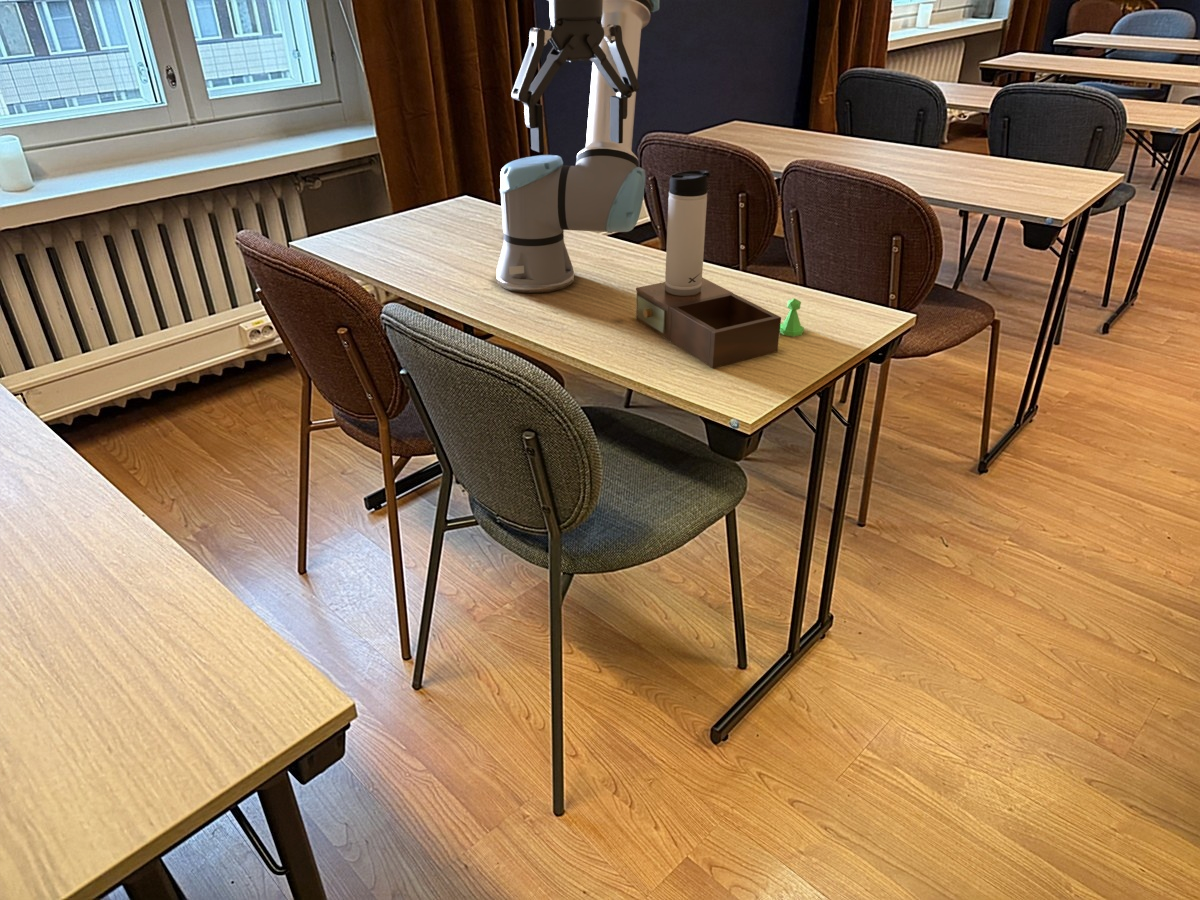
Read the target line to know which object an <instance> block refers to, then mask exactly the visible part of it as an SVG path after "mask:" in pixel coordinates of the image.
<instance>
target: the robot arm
mask: <svg viewBox="0 0 1200 900" xmlns="http://www.w3.org/2000/svg"><path fill="white" fill-rule="evenodd" d="M546 1H548V4H549V5H548V6H549V20H550V26H549V28H548V29H543V28H539V27H531V28H530V30H529V36H528V37H529V39H528V46H527V49H526V52H525V54H524V57H523V60H522V63H521V66H520V69H519V71H518V74H517V77H516V79H515V82H514V85H513V87H512V90H511V94H510V95H511V99H513V100H516V101H519V102H521V103H522V104H523V106H524V124H525V127H526V128H529V129H530V145H531V146H530V149H531V151H534V152H537V153H539V155H532V156H526V157H521V158H518V159H515V160H512V161H509V162H508V163H506V164H505V165H504V166H503V167H502V168H501V169H500V170H501V171H500V188H499V194H500V204H501V205H500V206H501V219H502V234H503V235H502V236H503V244H502V247H501V252H500V256H499V259H498V262H497V267H496V273H495V276H496V283H497V284H498V286H499V287H501V288H503V289H505V290H508V291H511V292H517V293H524V294H525V293H526V294H540V293H541V294H543V293H550V292H554V291H555V292H556V291H559V290H563V289H566V288H567V287H569V286H570V285H572V284H573V283H574V281H575V280H574V279H575V272H574V266H573V263H572V261H571V258H570V255H569V252H568V249H567V246H566V243H565V239H564V238H565V234H564V233H565V232H564V231H577V232H597V233H598V232H599V233H607V234H612V233H628V232H630V231H632V230H634V228H635V227H636V226H637V223H638V221H639V218H640V215H641V211H642V207H643V203H644V196H645V188H646V187H645V186H646V170H645V169H644V168H642V167H640V166H639V163H640V161H639V157H637V155H636V154H635V153H634V152H633V151H632V148H633V138H634V137H633V136H634V123H635V111H636V98H637V92H639V91H640V84H639V81H638V74H639V61H640V49H641V38H642V37H641V36H642V30H643V29H644V28H645V27H646V26H647V25H649V23H650V21H651V13H655V12H657V11H659V10H660V0H546ZM548 41H549V42H550V43H551V45H552V48H551V49H550V50H549V52H548V54H547V56H546V60H545V61H544V63H543V64H542V66H541V67H540V69H539V71H538V72H537V74H536V71H537V68H538V66H539V64H540V61H541V59H542V55H543V53H544V48H545V46H546V45H547V44H548ZM577 61H583V62H590V61H591V62H592V65H591V78H590V90H589V91H590V93H589V101H588V103H589V104H588V115H587V116H588V117H587V128H586V141H585V147H583V148H582V149H581V150H580V151H579V152H578V153H577V154H576V161H575V165H564V161H563V158H562V156H560V155H555V154H540V153H544V152H545V146H544V145H545V143H544V115H543V113H544V112H543V104H540V103H538V102H539V100H540V99H541V98H542V97H543V94H544V93H545V91H546V90H547V88H548V87H549V85H550V83H551V82H552V81H553V78H554V77H555V76H556V74H557V73H558V71H559V69H560V68H561V67H562V66H564V65H565V63H566V62H569V63H573V62H577ZM535 74H536V76H535Z"/></svg>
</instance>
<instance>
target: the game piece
mask: <svg viewBox="0 0 1200 900" xmlns="http://www.w3.org/2000/svg"><path fill="white" fill-rule="evenodd" d="M801 305H802V301H800V300H798V299H796V298H792V299H789V300H787V305H786V308H787V309H788V310H789V311H788V314H787V315H786V317H785V319H784V321H783V322H782V323H781V324H780V333H779V334H781V335H782V336H787V337H798V336H802V335H803V333H804V331H805V326H803V325H801V321H800V318H799V314H798V311H797V310H800V309H801Z"/></svg>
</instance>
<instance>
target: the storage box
mask: <svg viewBox="0 0 1200 900" xmlns="http://www.w3.org/2000/svg"><path fill="white" fill-rule="evenodd" d="M701 282H702V286H701V291H700V292H699V293H698V294H696V295H692V296H677V295H672V294H670V293H668V292H667V291H666V290H665V281H664V282H659V283H653V284H647V285H644V286H637V287H636V288H635V291H636V306H635V307H636V308H635V309H636V310H635V312H636V313H635V321H637V322H638V323H640V324H641V325H643V326H645V327H647V329H650V330H651V331H652V332H654V333H656V334H658V335H659V336H661V337H662V338H664V339H665V340H667V341H669V342H670V343H672V344H673V345H675V346H677V347H678V348H680V349H681V350H683V351H685V352H686V353H687V354H689V355H691V356H692V357H693V358H696V359H697V360H699V361H700V362H702V363H703V364H705V365H707V366H708V367H710V368H711V369H716V368H720V367H723V366H727V365H730V364H735V363H739V362H743V361H746V360H750V359H755V358H759V357H762V356H767V355H770V354H774V353H777V352H778V350H779V349H778V348H779V341H780V334H781V333H780V325H781V324H782V323H781V322H782V317H781V316H779V315H777V314H776V313H774V312H771V311H770V310H769V309H768V310H767V309H765V308H764V307H762V306H760V305H757V304H755V303H754V302H752V301H750V300H748V299H746V298H744V297H742V296H740V295H738V294H736V293H734V292H733V291H731V290H728V289H726V288H724V287H723V286H720V285H719V284H716V283H714V282H713V281H710V280H708V279H707V278H705V277H703V276H702V281H701Z"/></svg>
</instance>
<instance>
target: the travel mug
mask: <svg viewBox="0 0 1200 900" xmlns="http://www.w3.org/2000/svg"><path fill="white" fill-rule="evenodd" d="M711 176H712V173H711V170H700V169H699V170H697V169H695V170H685V171H680V172H676V173H675V172H674V173H673V174H672V175H671V176H670V177H669V185H668V186H669V188H668V203H667V205H668V206H667V225H666V226H667V228H666V250H665V253H666V254H665V273H664V275H665V278H664V282H665V290H666V291H667V292H668V293H670V294H672V295H677V296H692V295H696V294H698V293H699V292H700V291H701V286H702V282H701V281H702V277H703V267H704V252H705V237H706V220H707V205H708V187H709V186H708V178H711Z"/></svg>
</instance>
